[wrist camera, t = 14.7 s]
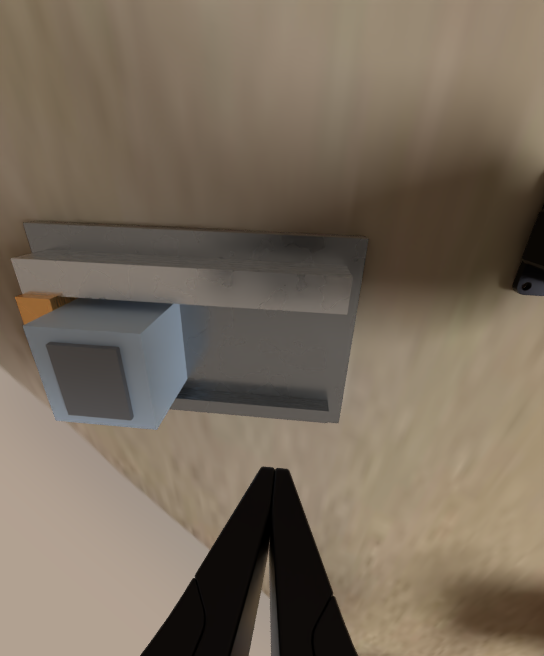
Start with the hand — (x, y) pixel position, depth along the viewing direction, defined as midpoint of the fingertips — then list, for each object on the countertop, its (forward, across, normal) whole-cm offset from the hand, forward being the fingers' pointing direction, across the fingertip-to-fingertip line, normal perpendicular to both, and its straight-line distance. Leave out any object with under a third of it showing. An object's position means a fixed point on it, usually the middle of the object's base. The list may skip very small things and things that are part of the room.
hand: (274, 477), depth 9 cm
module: (+11, +10, +2) cm, 15 cm away
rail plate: (+12, +6, +1) cm, 13 cm away
